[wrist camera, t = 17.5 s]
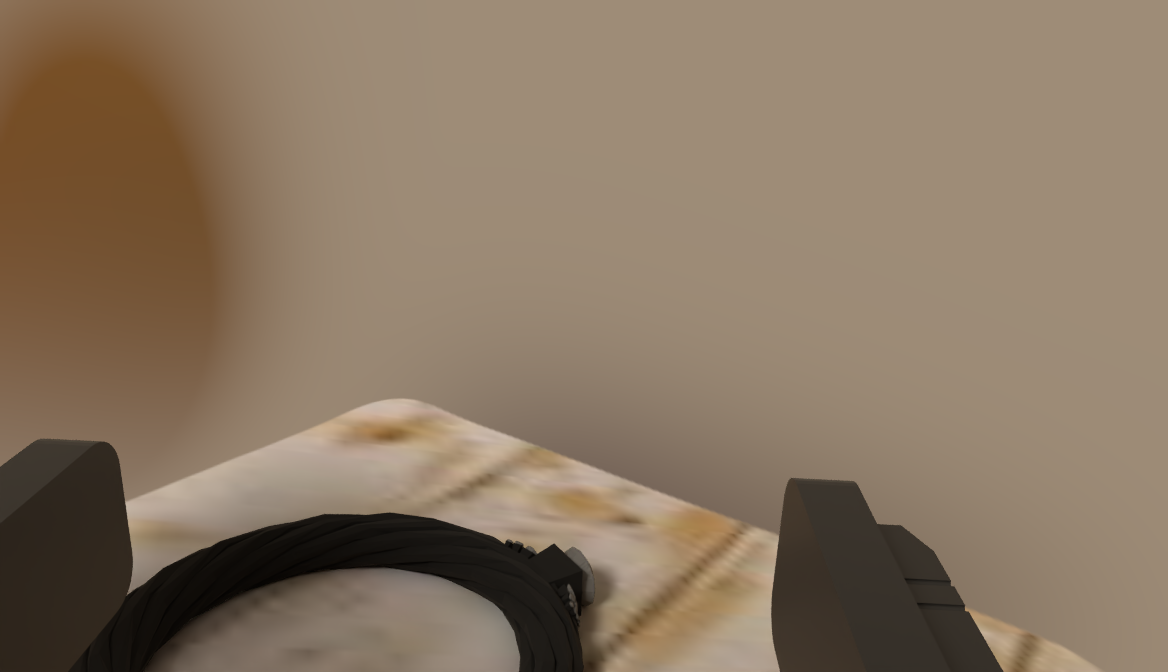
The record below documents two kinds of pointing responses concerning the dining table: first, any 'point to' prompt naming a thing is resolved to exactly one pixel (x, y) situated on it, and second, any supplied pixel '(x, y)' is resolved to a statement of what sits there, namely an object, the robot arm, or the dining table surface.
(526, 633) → the cable lock
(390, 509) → the dining table surface
